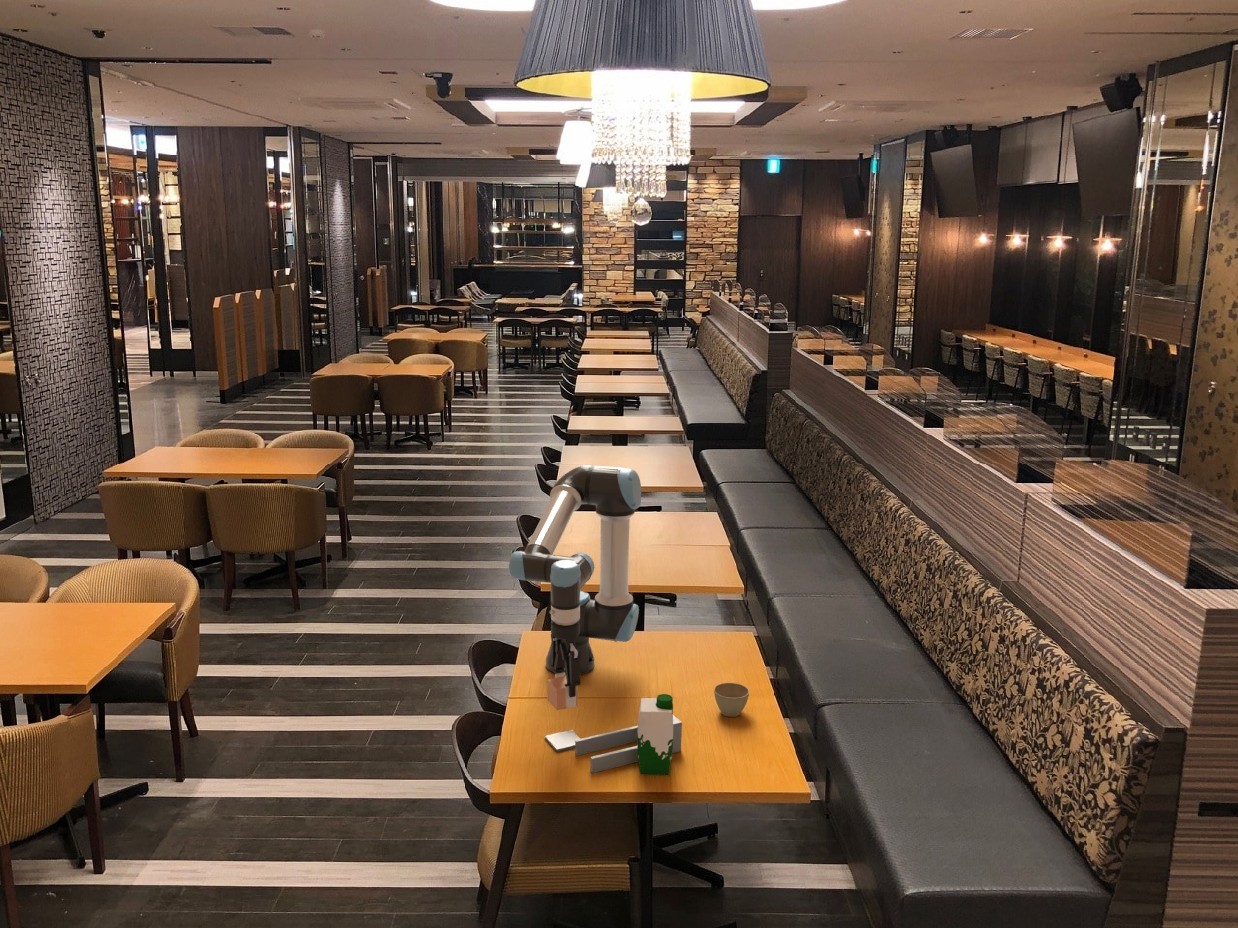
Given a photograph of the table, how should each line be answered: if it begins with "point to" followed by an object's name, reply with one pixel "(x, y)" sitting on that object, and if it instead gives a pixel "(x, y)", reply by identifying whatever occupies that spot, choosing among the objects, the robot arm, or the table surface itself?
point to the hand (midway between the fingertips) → (565, 700)
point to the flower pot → (731, 698)
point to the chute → (618, 739)
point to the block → (558, 692)
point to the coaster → (562, 740)
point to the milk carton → (655, 735)
